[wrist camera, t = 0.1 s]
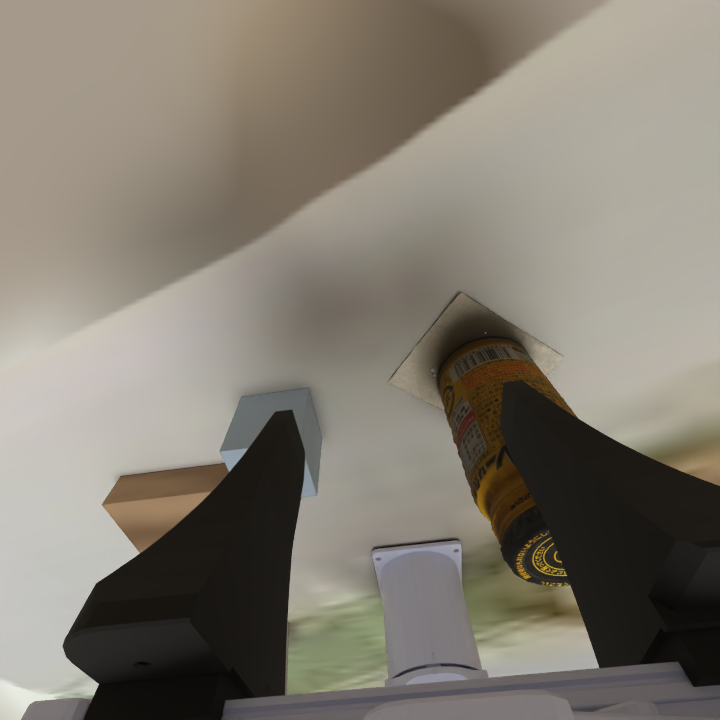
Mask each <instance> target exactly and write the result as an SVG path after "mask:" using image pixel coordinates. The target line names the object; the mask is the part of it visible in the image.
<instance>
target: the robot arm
mask: <svg viewBox="0 0 720 720" xmlns="http://www.w3.org/2000/svg"><path fill="white" fill-rule="evenodd" d="M500 430H501V433H502V435H503V438H504V441H505V444H506V446H507V449H508V451H509V454H510V456H511V458H512V460H513V462H514V464H515V466H516V468H517V470H518V472H519V473H520V475H521V477H522V479H523V481H524V483H525V485H526V487H527V488H528V490H529V492H530V494H531V496H532V498H533V500H534V502H535V503H536V505H537V507H538V509H539V511H540V513H541V515H542V517H543V519H544V521H545V523H546V525H547V527H548V530H549V532H550V535H551V537H552V540H553V542H554V544H555V547H556V549H557V552H558V554H559V557H560V559H561V562H562V564H563V567H564V570H565V572H566V575H567V577H568V580H569V582H570V585H571V588H572V590H573V593H574V596H575V599H576V601H577V604H578V607H579V610H580V612H581V615H582V618H583V621H584V623H585V626H586V629H587V632H588V635H589V638H590V641H591V644H592V647H593V650H594V653H595V656H596V659H597V662H598V665H599V668H597V669H585V670H573V671H562V672H550V673H538V674H527V675H515V676H503V677H492V678H488V674H487V671H486V670H482V666H481V662H480V658H479V654H478V650H477V646H476V642H475V638H474V634H473V630H472V626H471V622H470V617H469V613H468V609H467V605H466V601H465V597H464V593H463V589H462V546H461V543H460V542H459V541H457V540H455V541H445V542H436V543H427V544H418V545H409V546H399V547H390V548H381V549H375V550H373V551H372V557H373V562H374V566H375V571H376V575H377V579H378V584H379V588H380V593H381V597H382V602H383V611H384V625H385V639H386V654H387V668H388V679H386V680H385V687H375V688H364V689H352V690H341V691H329V692H317V693H306V694H294V695H285V680H286V643H287V618H288V600H289V583H290V570H291V556H292V548H293V540H294V534H295V529H296V523H297V517H298V512H299V506H300V500H301V494H302V489H303V482H304V471H305V449H304V446H303V443H302V439H301V436H300V433H299V430H298V426H297V423H296V420H295V416H294V413H293V410H292V409H291V410H283V411H276V412H274V414H273V415H272V416H271V418H270V419H269V420H268V422H267V423H266V425H265V426H264V427H263V429H262V430H261V432H260V433H259V434H258V436H257V437H256V439H255V440H254V441H253V443H252V444H251V445H250V447H249V448H248V449H247V451H246V452H245V453H244V455H243V456H242V457H241V459H240V460H239V461H238V462H237V463H236V465H235V466H234V467H233V468H232V469H231V471H230V472H229V473H228V474H227V475H226V477H225V478H224V479H223V480H222V481H221V482H220V483H219V484H218V486H217V487H216V488H215V489H214V490H213V491H212V492H211V493H210V494H209V495H208V496H207V497H206V498H205V499H204V500H203V501H202V502H201V503H200V504H199V505H198V506H197V507H195V508H194V509H193V510H192V511H191V512H190V513H189V514H188V515H187V516H185V517H184V518H183V519H182V520H181V521H180V522H179V523H178V524H177V525H175V526H174V527H173V528H172V529H171V530H169V531H168V532H167V533H166V534H164V535H163V536H162V537H161V538H160V539H158V540H157V541H156V542H154V543H153V544H152V545H150V546H149V547H148V548H147V549H145V550H144V551H143V552H141V553H140V554H139V555H137V556H136V557H134V558H133V559H132V560H130V561H129V562H127V563H126V564H124V565H123V566H121V567H120V568H119V569H117V570H116V571H114V572H113V573H111V574H110V575H108V576H107V577H105V578H104V579H102V580H101V581H99V582H98V583H96V585H95V587H94V588H93V590H92V592H91V594H90V595H89V597H88V599H87V601H86V602H85V604H84V606H83V608H82V610H81V611H80V613H79V615H78V617H77V618H76V620H75V622H74V624H73V626H72V627H71V629H70V631H69V633H68V635H67V636H66V638H65V640H64V643H63V649H64V652H65V655H66V657H67V658H68V659H69V660H70V661H71V662H72V663H73V664H74V665H75V666H77V667H78V668H79V669H80V670H82V671H83V672H84V673H86V674H87V675H88V676H90V677H91V678H92V679H93V680H95V681H96V682H97V683H99V686H98V688H97V690H96V692H95V695H94V697H93V699H92V701H91V700H88V699H83V698H68V699H56V700H45V701H35V702H33V703H32V704H30V705H29V706H28V708H27V710H26V712H25V713H24V715H23V717H22V719H21V720H720V486H718V485H715V484H712V483H710V482H707V481H704V480H702V479H699V478H696V477H694V476H691V475H689V474H686V473H684V472H681V471H679V470H677V469H674V468H672V467H670V466H667V465H665V464H663V463H660V462H658V461H656V460H654V459H651V458H649V457H647V456H645V455H643V454H641V453H639V452H637V451H635V450H633V449H631V448H629V447H627V446H625V445H623V444H621V443H619V442H617V441H615V440H613V439H612V438H610V437H608V436H606V435H604V434H603V433H601V432H599V431H598V430H596V429H594V428H593V427H591V426H589V425H588V424H586V423H584V422H583V421H581V420H580V419H578V418H576V417H575V416H573V415H572V414H570V413H569V412H567V411H566V410H564V409H563V408H561V407H560V406H558V405H557V404H555V403H554V402H553V401H551V400H550V399H548V398H547V397H545V396H544V395H543V394H541V393H540V392H538V391H537V390H536V389H534V388H533V387H531V386H530V385H528V384H527V383H526V382H524V381H523V380H518V381H510V382H503V394H502V407H501V421H500Z"/></svg>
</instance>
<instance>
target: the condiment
mask: <svg viewBox="0 0 720 720" xmlns="http://www.w3.org/2000/svg"><path fill="white" fill-rule="evenodd" d="M484 332H487V333H486V334H485V333H484ZM563 359H564V357H563V356H561V355H560V354H558V353H557V352H555V351H553V350H552V349H550V348H549V347H547V346H546V345H544V344H543V343H541V342H539V341H538V340H536V339H535V338H533V337H532V336H530V335H528V334H527V333H525V332H524V331H522V330H520V329H519V328H517V327H515V326H514V325H512V324H510V323H509V322H507V321H505V320H504V319H502V318H501V317H499V316H498V315H496V314H495V313H493V312H491V311H490V310H488V309H487V308H485V307H484V306H482V305H480V304H478V303H477V302H475V301H473V300H472V299H470V298H469V297H467V296H466V295H464V294H463V293H460V294H459V295H458V296H457V297H456V299H455V300H454V301H453V302H452V304H450V305H449V306H448V307H447V309H446V310H445V311H444V313H443V314H442V315H441V316H440V317H439V319H438V320H437V321H436V323H435V324H434V325H433V326H432V327H431V328H430V329H429V331H428V332H427V333H426V334H425V336H424V337H423V338H422V340H421V341H420V342H419V343H418V345H416V346H415V347H414V349H413V351H412V352H411V354H410V355H409V356H408V358H407V359H406V360H405V361H404V362H403V364H402V365H401V366H400V367H399V369H398V370H397V372H396V373H395V374H394V375H393V377H392V378H391V379H390V380H389V382H388V383H390V384H392V385H394V386H395V387H397V388H399V389H401V390H404V391H406V392H408V393H409V394H411V395H413V396H415V397H418V398H420V399H421V400H423V401H425V402H427V403H430V404H431V405H433V406H436V407H438V408H440V409H442V410H444V411H445V413H446V416H447V420H448V422H449V426H450V428H451V429H452V435H453V440H454V443H455V444H456V446H457V449H458V455H459V457H460V458H461V461H462V465H463V468H464V470H465V475H466V478H467V481H468V483H469V485H470V488H471V493H472V496H473V498H474V501H475V503H476V505H477V506H478V508H479V510H480V512H481V513H482V514H483V515H484V516H485V517H486V518H487V519H488V521H490V522H491V525H492V530H493V532H494V534H495V536H496V537H497V539H498V541H499V544H500V545H501V548H500V550H501V552H502V556H503V558H504V560H505V561H506V562H507V564H508V566H509V567H510V568H511V569H512V571H513V572H514V574H515V575H517V576H519V577H521V578H523V579H524V580H526V581H528V582H532V583H536V584H539V585H547V586H567V585H570V582H569V580H568V577H567V575H566V572H565V570H564V567H563V564H562V562H561V559H560V557H559V554H558V552H557V549H556V547H555V544H554V542H553V540H552V537H551V535H550V532H549V530H548V527H547V525H546V523H545V521H544V519H543V517H542V515H541V513H540V511H539V509H538V507H537V505H536V503H535V502H534V500H533V498H532V496H531V494H530V492H529V490H528V488H527V487H526V485H525V483H524V481H523V479H522V477H521V475H520V473H519V472H518V470H517V468H516V466H515V464H514V462H513V460H512V458H511V456H510V454H509V451H508V449H507V446H506V444H505V441H504V438H503V435H502V433H501V430H500V421H501V407H502V394H503V382H510V381H518V380H523V381H524V382H526V383H527V384H528V385H530V386H531V387H533V388H534V389H536V390H537V391H538V392H540V393H541V394H543V395H544V396H545V397H547V398H548V399H550V400H551V401H553V402H554V403H555V404H557V405H558V406H560V407H561V408H563V409H564V410H566V411H567V412H569V413H570V414H572V415H573V416H575V417H576V415H575V414H574V413H573V411H572V410H571V408H570V407H569V406H568V405H567V403H566V402H565V401H564V399H563V398H562V397H561V396H560V394H559V393H558V392H557V391H556V389H555V388H554V387H553V385H552V384H551V383H550V381H549V380H548V379H547V377H546V375H547V374H548V373H549V372H550V371H551V370H552V369H553V368H555V367H556V366H557V365H558V364H559V363H560V362H561V361H562V360H563ZM431 368H433V369H434V373H432V372H431ZM433 374H436V377H433ZM576 418H577V417H576Z"/></svg>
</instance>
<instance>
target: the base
mask: <svg viewBox="0 0 720 720" xmlns="http://www.w3.org/2000/svg"><path fill="white" fill-rule="evenodd" d="M228 473H229V471H228V469H227V466H226V464H217V465H209V466H201V467H193V468H185V469H177V470H169V471H161V472H153V473H145V474H137V475H129V476H121V477H120V478H119V479H118V481H117V482H116V484H115V486H114V487H113V489H112V490H111V492H110V493H109V495H108V496H107V498H106V499H105V501H104V502H103V504H102V506H103V507H104V508H105V509H106V511H107V512H108V513H109V514H110V516H111V517H112V518H113V520H114V521H115V522H116V523H117V525H118V526H119V527H120V528H121V530H122V531H123V532H124V533H125V535H126V536H127V537H128V538H129V540H130V541H131V542H132V543H133V545H134V546H135V547H136V548H137V550H138V551H139V552H140V553H141V552H143V551H144V550H145V549H147V548H148V547H149V546H150V545H152V544H153V543H154V542H156V541H157V540H158V539H160V538H161V537H162V536H163V535H164V534H166V533H167V532H168V531H169V530H171V529H172V528H173V527H174V526H175V525H177V524H178V523H179V522H180V521H181V520H182V519H183V518H184V517H185V516H187V515H188V514H189V513H190V512H191V511H192V510H193V509H194V508H195V507H197V506H198V505H199V504H200V503H201V502H202V501H203V500H204V499H205V498H206V497H207V496H208V495H209V494H210V493H211V492H212V491H213V490H214V489H215V488H216V487H217V486H218V484H219V483H220V482H221V481H222V480H223V479H224V478H225V477H226V475H227V474H228Z"/></svg>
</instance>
